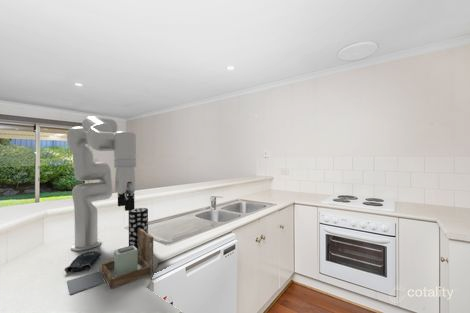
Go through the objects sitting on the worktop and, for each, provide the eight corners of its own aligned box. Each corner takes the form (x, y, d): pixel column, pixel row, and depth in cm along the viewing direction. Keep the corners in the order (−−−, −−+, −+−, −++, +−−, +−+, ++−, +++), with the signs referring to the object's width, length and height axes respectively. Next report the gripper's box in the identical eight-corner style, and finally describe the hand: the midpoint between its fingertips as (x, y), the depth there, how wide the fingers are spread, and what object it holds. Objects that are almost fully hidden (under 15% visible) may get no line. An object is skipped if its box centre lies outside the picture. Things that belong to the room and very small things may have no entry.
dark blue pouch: (93, 274, 86) (104, 252, 100) (90, 261, 85) (101, 242, 99) (66, 281, 83) (81, 258, 97) (62, 268, 82) (78, 247, 96)
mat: (67, 281, 77) (67, 280, 77) (99, 271, 84) (99, 270, 84) (69, 295, 70) (69, 294, 70) (105, 282, 77) (105, 281, 77)
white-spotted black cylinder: (128, 251, 102) (128, 209, 102) (147, 247, 106) (147, 207, 106) (128, 258, 95) (128, 213, 95) (149, 254, 99) (148, 211, 99)
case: (101, 271, 84) (101, 236, 84) (140, 259, 94) (140, 227, 94) (111, 290, 72) (111, 249, 72) (154, 274, 82) (154, 237, 82)
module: (114, 273, 83) (114, 249, 83) (133, 267, 87) (133, 243, 87) (117, 279, 79) (117, 253, 79) (137, 272, 84) (137, 247, 84)
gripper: (109, 163, 87) (109, 205, 87) (120, 164, 74) (121, 214, 74) (129, 163, 92) (129, 203, 92) (143, 163, 79) (143, 210, 79)
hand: (125, 207), depth 83 cm, fingers open, 9 cm apart
